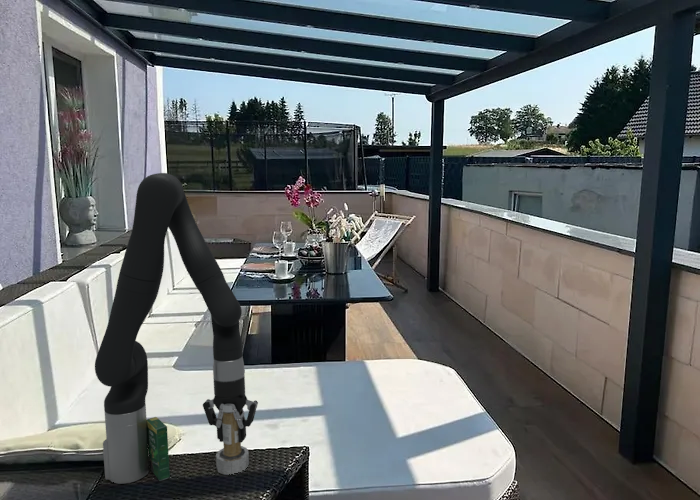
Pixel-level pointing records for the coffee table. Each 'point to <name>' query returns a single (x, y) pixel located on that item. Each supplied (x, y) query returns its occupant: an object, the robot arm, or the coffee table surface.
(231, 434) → the sprinkles bottle
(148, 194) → the robot arm
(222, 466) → the aluminium ring
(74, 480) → the coffee table surface
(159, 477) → the coffee box
